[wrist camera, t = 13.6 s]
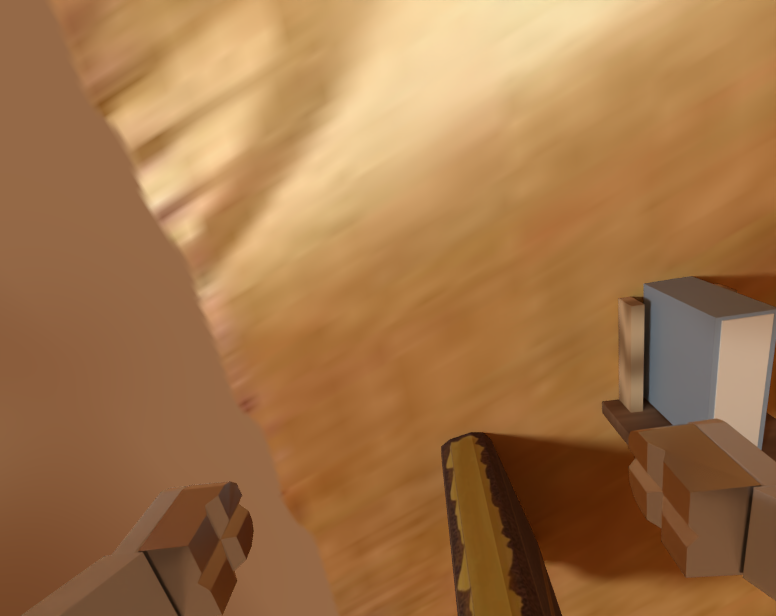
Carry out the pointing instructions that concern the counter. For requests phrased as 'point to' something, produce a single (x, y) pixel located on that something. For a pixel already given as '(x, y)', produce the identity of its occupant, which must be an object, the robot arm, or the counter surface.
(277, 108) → the counter surface
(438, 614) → the counter surface
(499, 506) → the book
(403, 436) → the counter surface
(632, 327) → the wooden display stand
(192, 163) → the counter surface
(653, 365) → the box book
